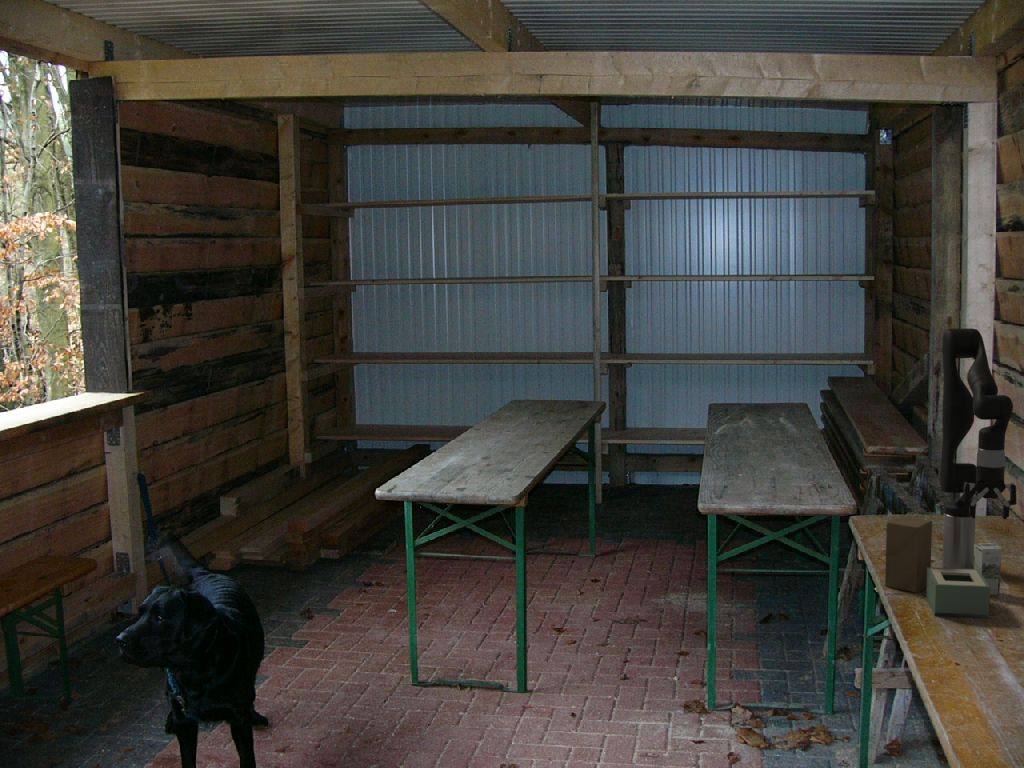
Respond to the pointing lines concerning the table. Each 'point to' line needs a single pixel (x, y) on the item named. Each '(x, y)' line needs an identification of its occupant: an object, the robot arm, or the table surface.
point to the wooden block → (908, 553)
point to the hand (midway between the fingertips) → (988, 518)
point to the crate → (957, 592)
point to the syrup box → (989, 564)
